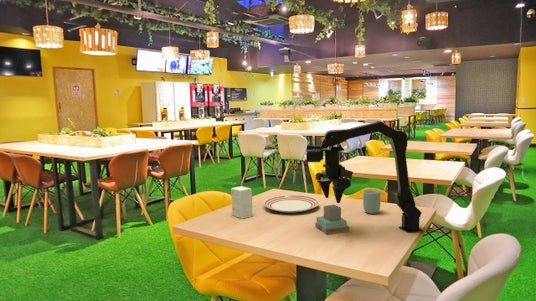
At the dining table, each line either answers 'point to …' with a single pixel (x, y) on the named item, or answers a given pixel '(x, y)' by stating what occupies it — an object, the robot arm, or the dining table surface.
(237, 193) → the small box
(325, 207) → the grey cube
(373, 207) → the cup
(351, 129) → the robot arm
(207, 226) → the dining table surface
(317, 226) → the tower bottom
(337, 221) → the tower top
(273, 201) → the dinner plate
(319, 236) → the dining table surface
